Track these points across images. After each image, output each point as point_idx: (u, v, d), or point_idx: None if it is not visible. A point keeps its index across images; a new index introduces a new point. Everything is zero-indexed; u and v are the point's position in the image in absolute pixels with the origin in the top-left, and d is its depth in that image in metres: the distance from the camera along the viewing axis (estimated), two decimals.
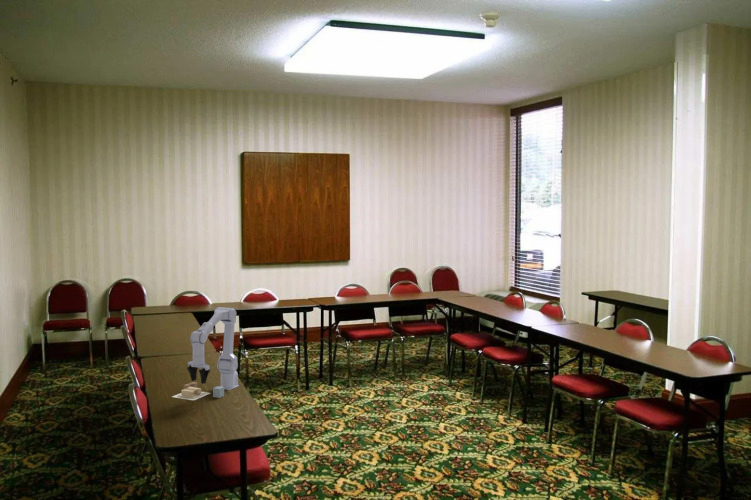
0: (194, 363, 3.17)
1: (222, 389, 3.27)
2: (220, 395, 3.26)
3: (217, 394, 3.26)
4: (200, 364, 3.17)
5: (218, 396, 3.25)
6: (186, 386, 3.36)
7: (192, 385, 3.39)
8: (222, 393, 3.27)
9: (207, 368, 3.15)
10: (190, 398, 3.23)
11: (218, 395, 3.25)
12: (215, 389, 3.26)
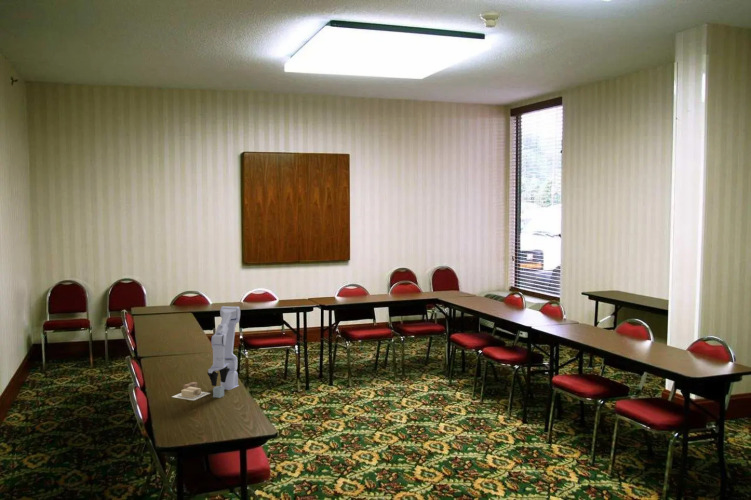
0: None
1: (222, 389, 3.27)
2: (220, 395, 3.26)
3: (217, 394, 3.26)
4: (213, 366, 3.25)
5: (218, 396, 3.25)
6: (186, 386, 3.36)
7: (192, 385, 3.39)
8: (222, 393, 3.27)
9: (209, 371, 3.20)
10: (190, 398, 3.23)
11: (218, 395, 3.25)
12: (215, 389, 3.26)
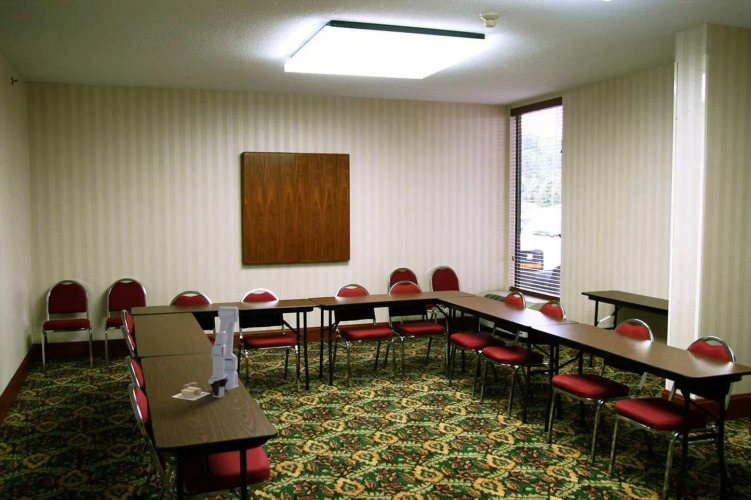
0: None
1: (222, 389, 3.27)
2: (220, 395, 3.26)
3: None
4: (213, 377, 3.25)
5: (218, 396, 3.25)
6: (186, 386, 3.36)
7: (192, 385, 3.39)
8: (222, 393, 3.27)
9: (209, 382, 3.21)
10: (190, 398, 3.23)
11: (218, 395, 3.25)
12: None
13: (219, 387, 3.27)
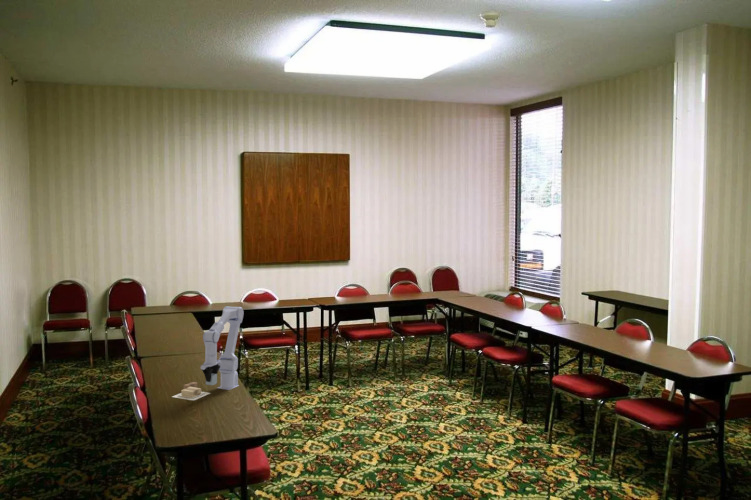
0: None
1: (215, 376, 3.27)
2: (213, 382, 3.26)
3: (210, 381, 3.25)
4: (206, 363, 3.25)
5: (211, 383, 3.25)
6: (186, 386, 3.36)
7: (192, 385, 3.39)
8: (214, 380, 3.27)
9: (201, 368, 3.21)
10: (190, 398, 3.23)
11: (211, 382, 3.25)
12: None
13: (212, 374, 3.27)
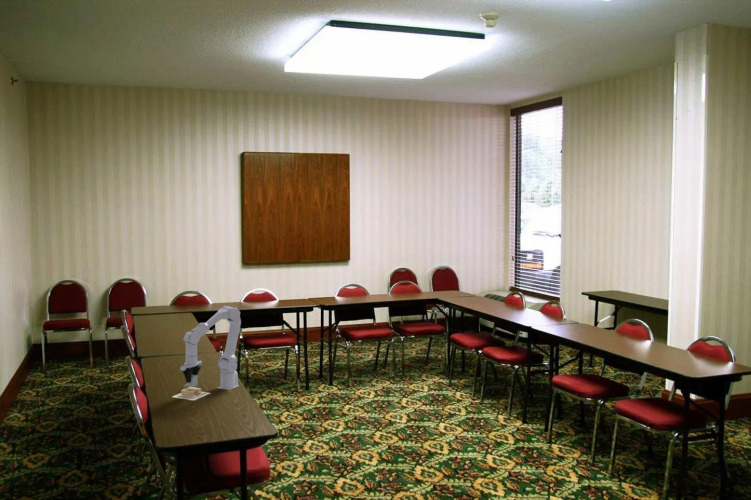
0: None
1: (195, 377, 3.28)
2: (193, 383, 3.27)
3: (190, 382, 3.27)
4: (186, 364, 3.26)
5: (191, 384, 3.26)
6: (186, 386, 3.36)
7: None
8: (195, 381, 3.28)
9: (181, 368, 3.22)
10: (190, 398, 3.23)
11: (191, 383, 3.26)
12: None
13: (192, 375, 3.28)
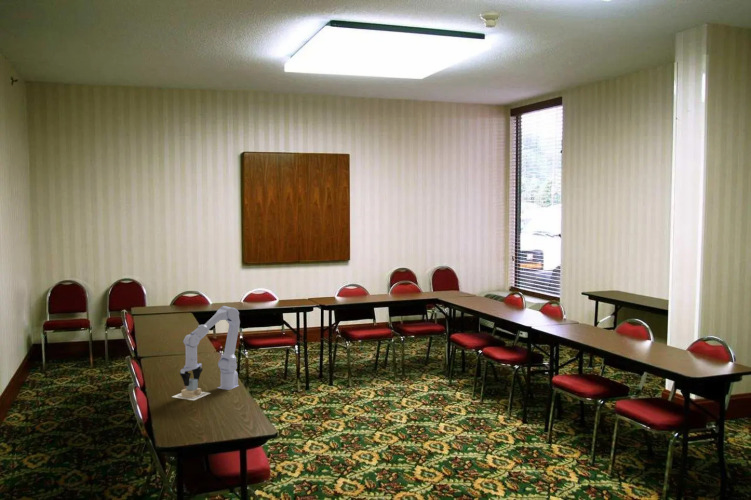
0: None
1: (195, 381, 3.29)
2: (193, 387, 3.27)
3: (190, 386, 3.27)
4: (186, 366, 3.26)
5: (191, 388, 3.27)
6: None
7: None
8: (195, 385, 3.28)
9: (181, 371, 3.22)
10: (190, 398, 3.23)
11: (191, 387, 3.27)
12: None
13: (192, 379, 3.29)
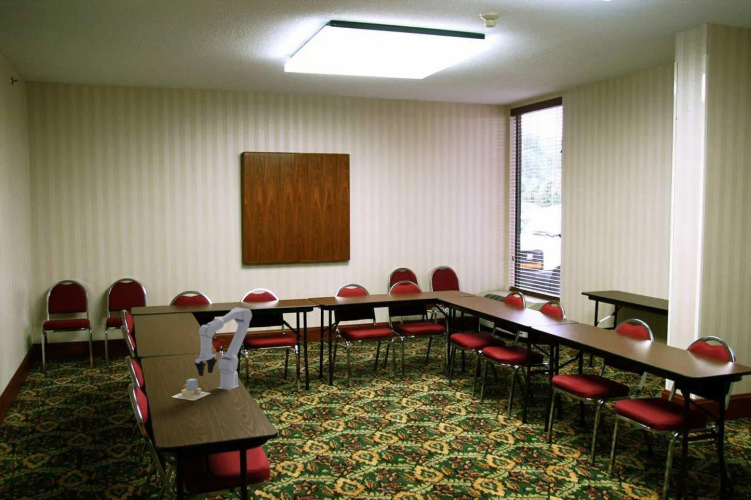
0: None
1: (195, 381, 3.29)
2: (193, 387, 3.27)
3: (190, 386, 3.27)
4: (201, 356, 3.29)
5: (191, 388, 3.27)
6: None
7: None
8: (195, 385, 3.28)
9: (196, 361, 3.25)
10: (190, 398, 3.23)
11: (191, 387, 3.27)
12: (188, 381, 3.27)
13: (192, 379, 3.29)
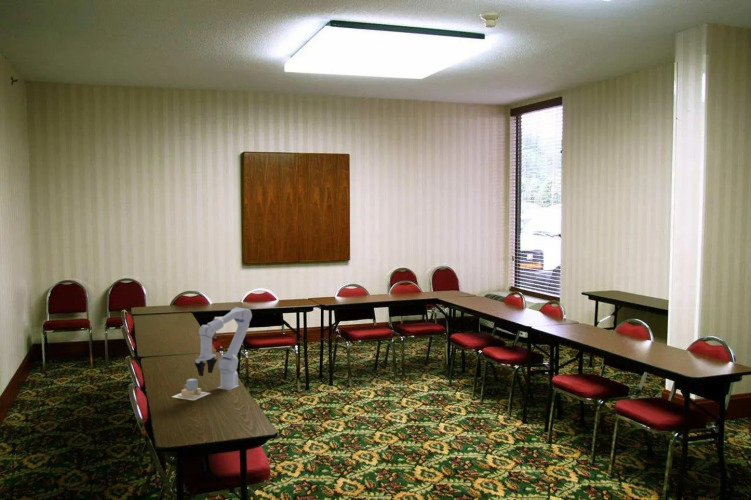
0: None
1: (195, 381, 3.29)
2: (193, 387, 3.27)
3: (190, 386, 3.27)
4: (201, 356, 3.29)
5: (191, 388, 3.27)
6: None
7: None
8: (195, 385, 3.28)
9: (196, 361, 3.25)
10: (190, 398, 3.23)
11: (191, 387, 3.27)
12: (188, 381, 3.27)
13: (192, 379, 3.29)
